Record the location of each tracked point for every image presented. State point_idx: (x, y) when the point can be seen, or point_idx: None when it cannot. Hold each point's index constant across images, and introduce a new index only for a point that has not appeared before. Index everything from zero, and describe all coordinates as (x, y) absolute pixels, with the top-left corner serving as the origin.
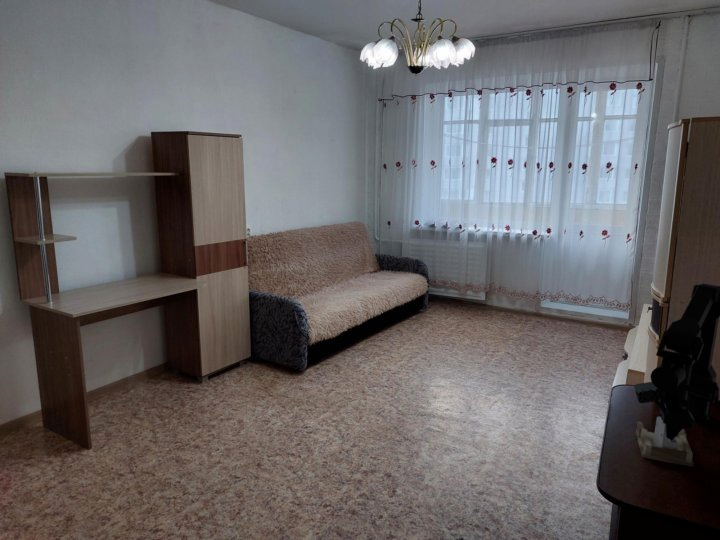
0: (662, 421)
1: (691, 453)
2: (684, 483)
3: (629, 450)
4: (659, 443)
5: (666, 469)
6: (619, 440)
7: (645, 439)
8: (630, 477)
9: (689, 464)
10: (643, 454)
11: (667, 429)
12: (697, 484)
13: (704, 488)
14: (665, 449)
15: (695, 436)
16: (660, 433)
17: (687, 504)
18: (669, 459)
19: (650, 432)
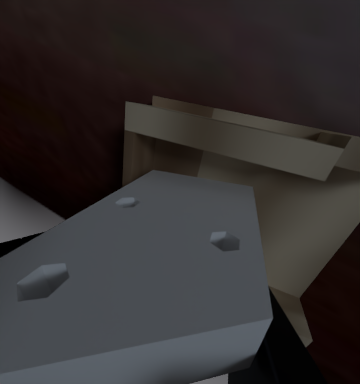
0: (64, 286)
1: None
2: (70, 176)
3: (206, 48)
4: (165, 182)
5: (112, 158)
6: (315, 3)
7: (186, 120)
8: (27, 2)
9: None
10: (154, 99)
11: (12, 244)
12: (78, 204)
13: (70, 210)
14: (123, 185)
15: (317, 346)
16: (148, 208)
17: (4, 144)
18: None
19: (357, 216)
